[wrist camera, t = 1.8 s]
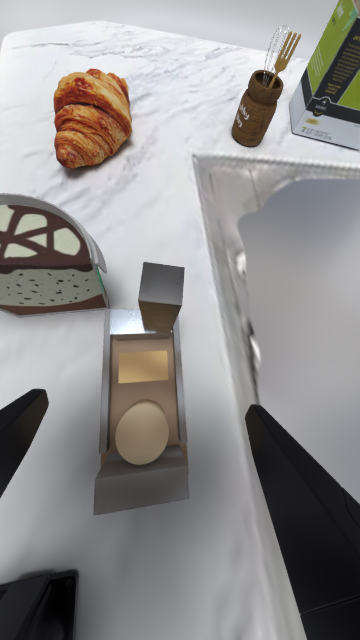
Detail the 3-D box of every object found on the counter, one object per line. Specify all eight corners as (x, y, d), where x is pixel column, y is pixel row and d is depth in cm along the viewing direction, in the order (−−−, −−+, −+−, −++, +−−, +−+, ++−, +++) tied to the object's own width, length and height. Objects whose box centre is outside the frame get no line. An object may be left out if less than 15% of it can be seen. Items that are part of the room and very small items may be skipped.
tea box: (350, 121, 41) (452, -10, 27) (358, 152, 38) (477, 23, 24) (287, 103, 40) (360, -45, 26) (290, 134, 37) (375, -15, 23)
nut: (166, 442, 18) (170, 460, 14) (123, 447, 17) (114, 468, 13) (164, 397, 19) (167, 403, 15) (123, 401, 18) (116, 408, 15)
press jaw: (170, 339, 20) (187, 305, 10) (115, 341, 20) (77, 307, 10) (169, 315, 21) (184, 262, 11) (116, 317, 20) (81, 260, 10)
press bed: (186, 468, 19) (199, 505, 13) (103, 480, 17) (81, 527, 12) (175, 314, 23) (182, 295, 18) (109, 315, 22) (94, 296, 16)
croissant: (112, 119, 36) (80, 52, 29) (158, 101, 32) (133, 18, 25) (62, 195, 29) (4, 129, 22) (111, 183, 25) (60, 99, 18)
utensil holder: (259, 128, 36) (308, 13, 24) (262, 151, 34) (318, 39, 23) (229, 122, 35) (266, 1, 24) (231, 146, 33) (273, 26, 22)
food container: (119, 262, 24) (96, 187, 14) (122, 308, 22) (99, 257, 13) (9, 268, 22) (-103, 185, 12) (4, 318, 20) (-130, 268, 11)
